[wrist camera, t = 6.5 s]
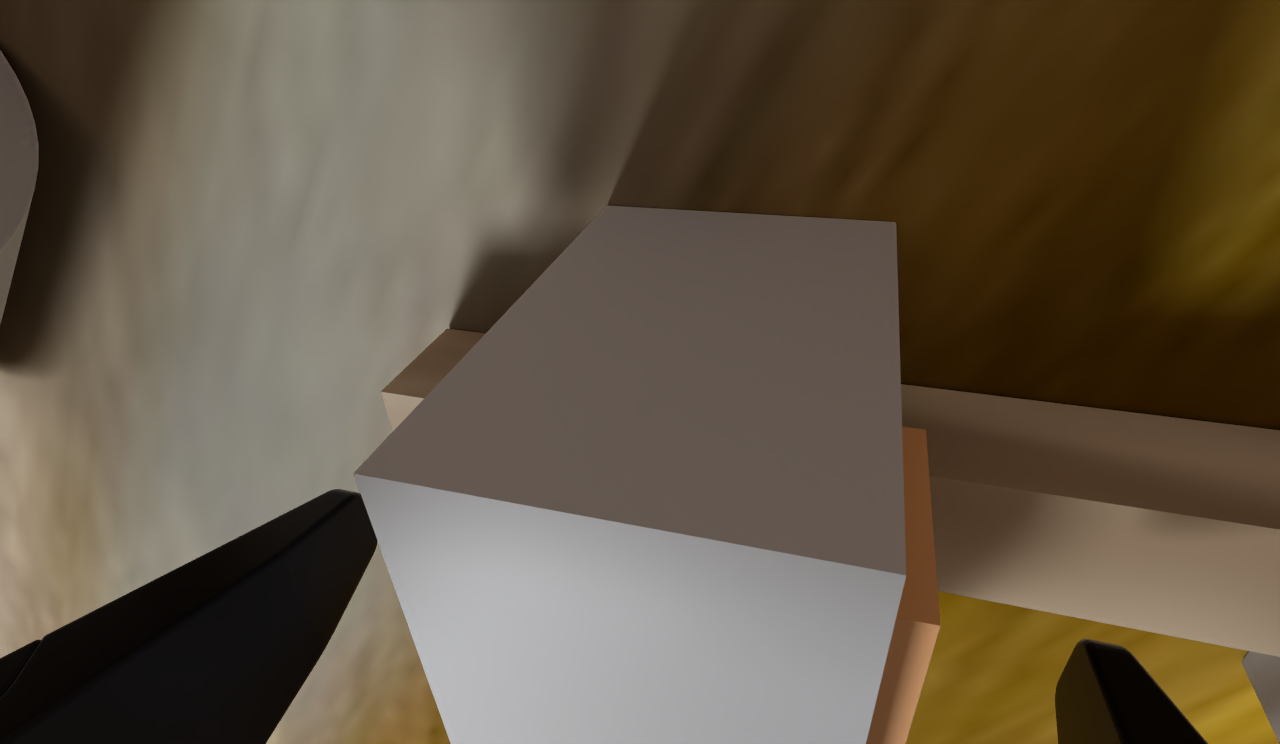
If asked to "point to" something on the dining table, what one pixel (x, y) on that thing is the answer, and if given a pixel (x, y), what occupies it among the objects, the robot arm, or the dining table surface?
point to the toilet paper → (14, 171)
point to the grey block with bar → (1077, 511)
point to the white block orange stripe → (673, 495)
